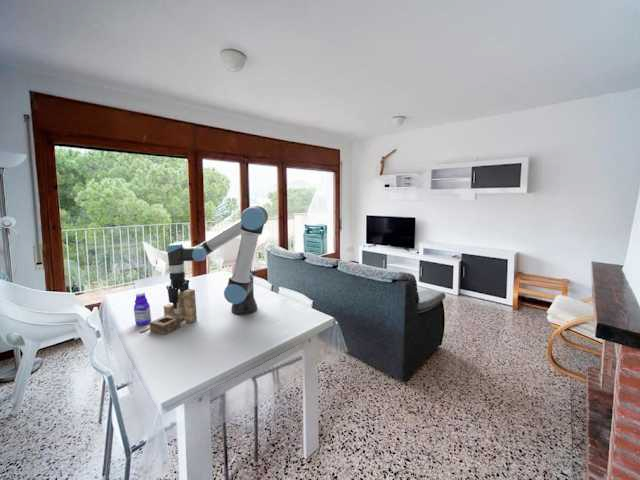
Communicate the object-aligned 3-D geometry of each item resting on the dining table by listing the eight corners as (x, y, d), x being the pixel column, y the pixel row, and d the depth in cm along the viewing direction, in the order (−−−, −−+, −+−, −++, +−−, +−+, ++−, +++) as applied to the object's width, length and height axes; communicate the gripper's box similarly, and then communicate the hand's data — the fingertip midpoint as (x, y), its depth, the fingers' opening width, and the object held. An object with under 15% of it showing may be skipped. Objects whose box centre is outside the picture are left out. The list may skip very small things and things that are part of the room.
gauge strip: (165, 320, 159) (165, 320, 159) (167, 321, 159) (167, 320, 159) (140, 332, 146) (140, 331, 145) (142, 332, 145) (142, 332, 145)
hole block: (167, 323, 155) (166, 315, 155) (181, 326, 152) (180, 317, 151) (150, 331, 146) (149, 322, 146) (164, 335, 143) (163, 325, 142)
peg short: (170, 315, 167) (169, 303, 166) (175, 316, 165) (174, 304, 164) (164, 318, 163) (163, 306, 162) (169, 319, 161) (168, 307, 160)
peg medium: (181, 316, 164) (179, 291, 161) (186, 317, 162) (184, 291, 160) (175, 319, 160) (173, 293, 158) (180, 320, 158) (178, 294, 156)
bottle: (134, 326, 152) (130, 295, 150) (137, 322, 158) (134, 291, 155) (149, 324, 154) (146, 294, 151) (152, 320, 159) (149, 290, 157)
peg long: (191, 319, 161) (189, 288, 158) (196, 320, 159) (194, 289, 157) (185, 322, 157) (183, 291, 154) (191, 323, 156) (189, 292, 153)
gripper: (184, 267, 166) (187, 305, 170) (158, 275, 151) (162, 316, 154) (194, 268, 163) (197, 307, 167) (168, 276, 148) (172, 318, 151)
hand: (180, 311), depth 160 cm, fingers closed on peg medium, 4 cm apart
